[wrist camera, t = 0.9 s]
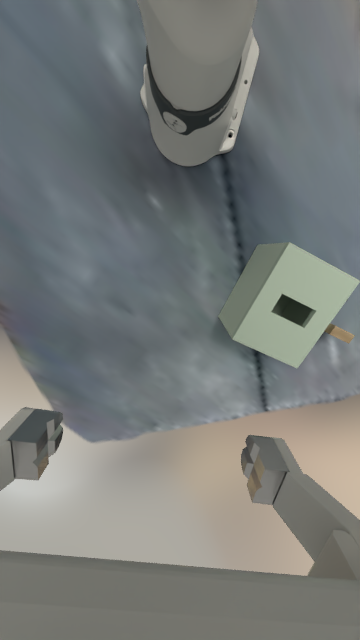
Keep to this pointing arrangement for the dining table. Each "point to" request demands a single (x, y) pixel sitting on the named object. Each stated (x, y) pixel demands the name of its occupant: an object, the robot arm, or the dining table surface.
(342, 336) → the wooden domino
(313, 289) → the slot box
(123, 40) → the dining table surface
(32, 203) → the dining table surface
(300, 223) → the dining table surface
